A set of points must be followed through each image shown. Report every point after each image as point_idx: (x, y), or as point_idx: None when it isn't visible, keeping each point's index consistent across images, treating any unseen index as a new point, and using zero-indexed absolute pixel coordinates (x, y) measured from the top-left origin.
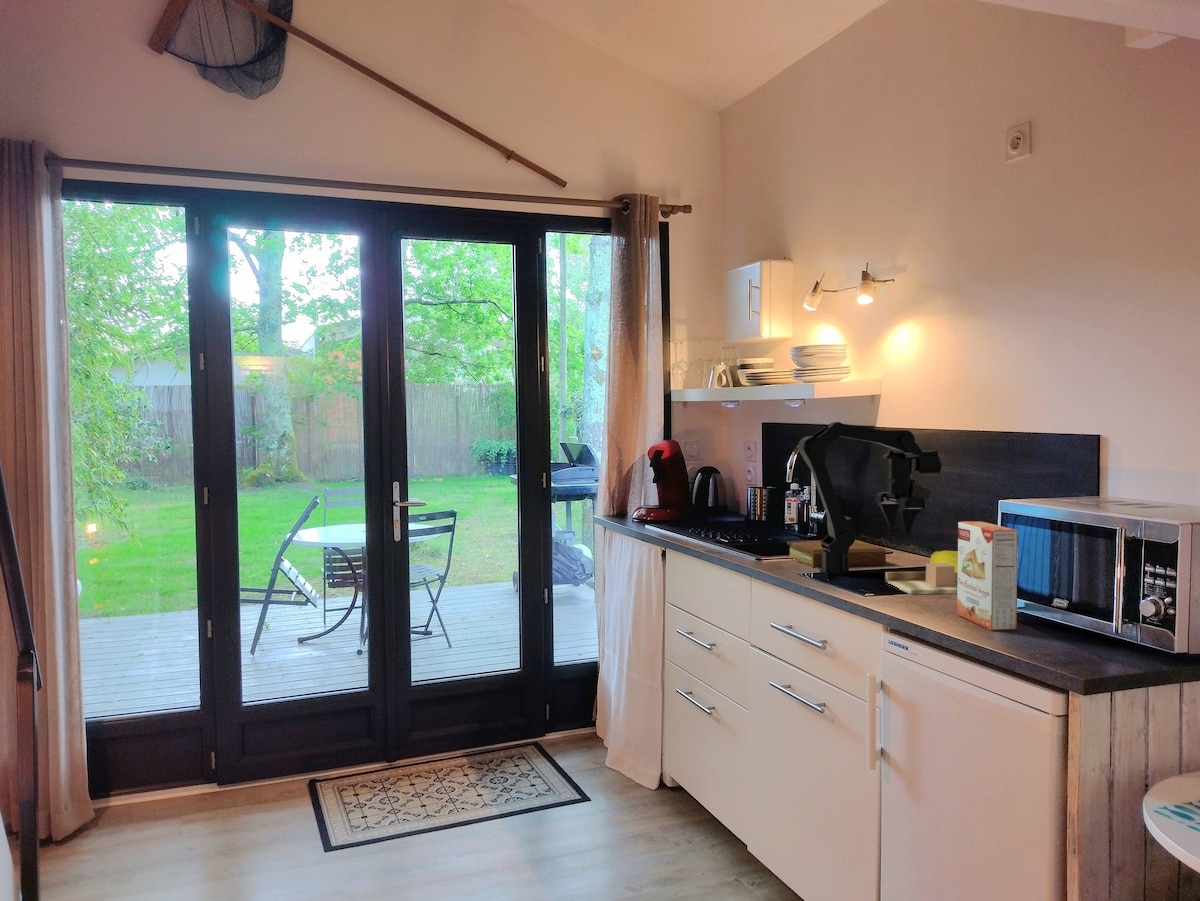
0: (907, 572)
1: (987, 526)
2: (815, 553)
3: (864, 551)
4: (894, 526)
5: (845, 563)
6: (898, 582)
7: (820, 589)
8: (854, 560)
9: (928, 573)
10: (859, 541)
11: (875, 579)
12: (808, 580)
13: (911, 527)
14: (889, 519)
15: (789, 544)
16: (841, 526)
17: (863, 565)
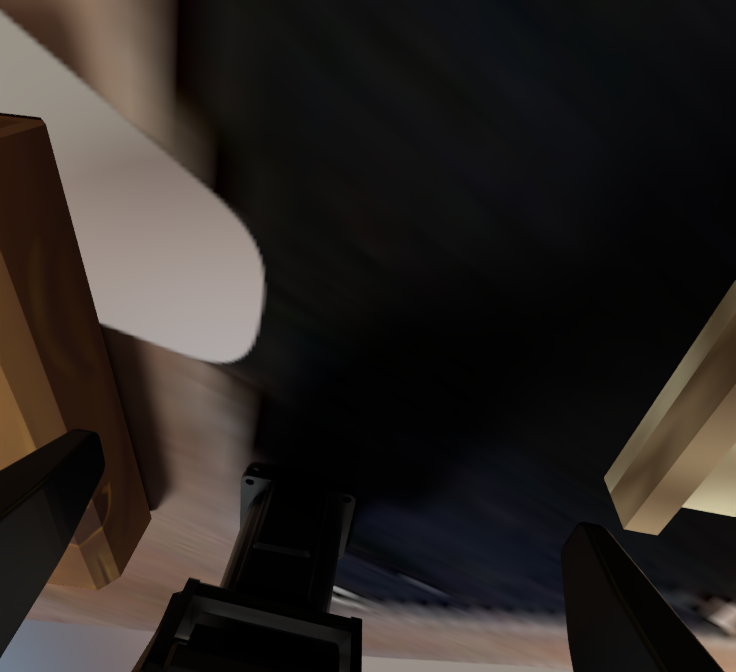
0: (716, 453)
1: None
2: (117, 570)
3: (27, 341)
4: (77, 450)
5: (320, 538)
6: (709, 487)
7: (564, 664)
8: (91, 368)
9: None
10: None
11: (495, 456)
12: (411, 627)
13: (668, 606)
14: (6, 613)
15: None
16: None
17: (90, 292)
